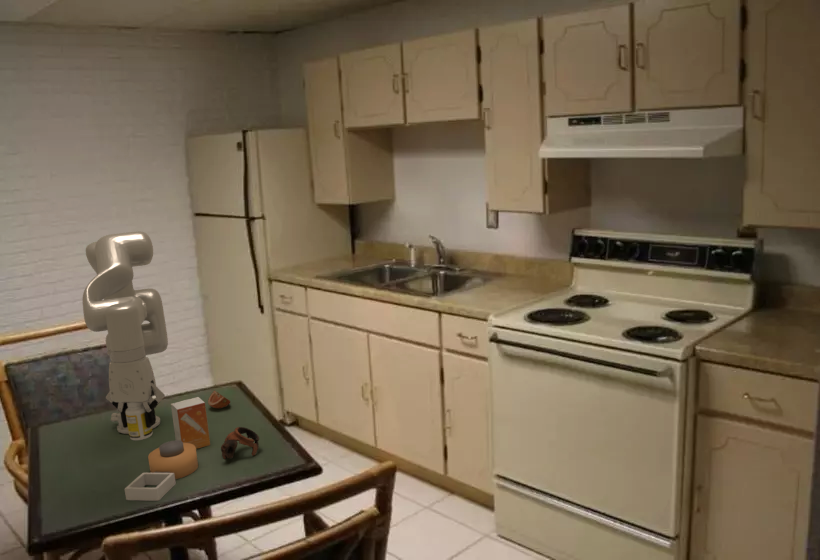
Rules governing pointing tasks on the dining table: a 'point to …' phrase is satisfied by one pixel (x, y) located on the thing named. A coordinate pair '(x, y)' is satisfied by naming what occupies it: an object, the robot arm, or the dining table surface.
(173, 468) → the disc and frame
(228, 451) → the brown curved piece
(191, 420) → the small box
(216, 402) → the fruit slice
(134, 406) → the supplement bottle
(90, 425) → the dining table surface
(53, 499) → the dining table surface
